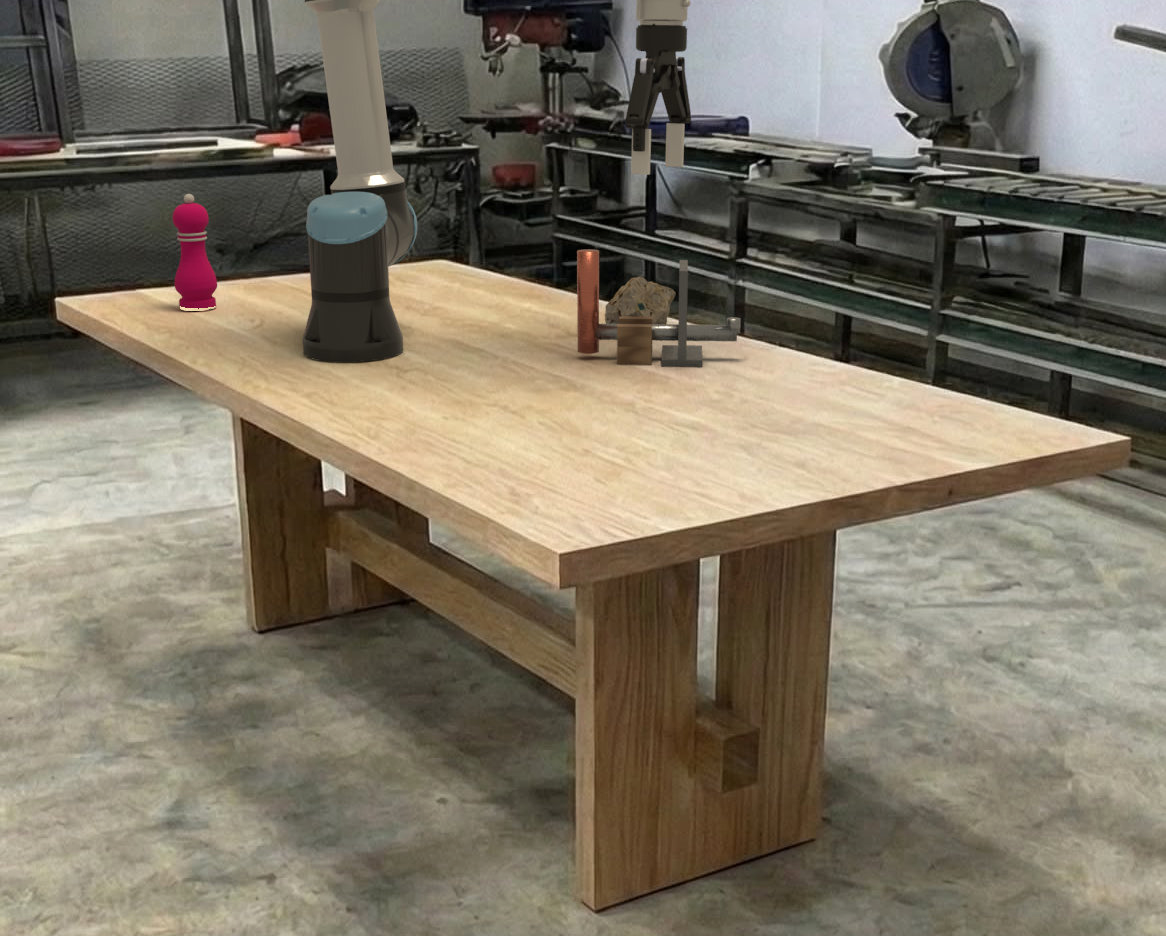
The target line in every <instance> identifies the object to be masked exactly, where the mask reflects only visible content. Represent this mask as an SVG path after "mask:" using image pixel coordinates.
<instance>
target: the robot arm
mask: <svg viewBox="0 0 1166 936" xmlns="http://www.w3.org/2000/svg"><path fill="white" fill-rule="evenodd" d="M380 1H381V0H304V4H305V6H306V7H307V8H309V10H311V11H312V12H313V13H314V14H315V15H316V19H317V24H318V33H319V40H320V48H321V49H320V50H321V55H322V62H323V69H324V77H325V84H326V93H327V99H328V107H329V115H330V122H331V129H332V136H333V143H334V152H335V158H336V167H337V172H338V175H337V176H336V178H335V180H333V182H332V184H330V187H329V189H330V194H323V195H322V196H319V197H316V198H315V199H313V200H312V201H311V202H310V203H309V204H308V206H307V209H306V212H307V213H306V216H307V219H306V222H305V223H306V224H305V225H306V226H305V229H306V232H307V241H308V242H307V244H308V246H307V247H308V259H309V277H310V291H311V292H310V293H311V306H310V308H309V313H308V316H307V320H306V324H305V329H304V331H303V336H302V354H303V355H304V356H305V357H306V356H307V358H309V357H310V358H309V359H312V358H313V360H316V359H317V361H322V360H323V362H337V363H352V362H353V363H355V362H370V361H377V360H384V359H387V358H392V357H395V356H398V355H399V354H401V353H402V352H403V351H404V337H403V333H402V330H401V328H400V326H399V322H398V320H397V317H396V314H395V311H394V308H393V306H392V304H391V303H392V302H391V300H390V299H391V297H390V277H389V267H391V266H393V265H395V264H396V265H397V264H398V263H399V262H400V261H402V260H403V258H405V256H406V255H407V254H408V253H409V251H410V250H411V249H412V247H413V245H414V243H415V242H416V238H417V234H418V219H417V216H416V213H415V210H414V208H413V206H412V205H411V203H410V202H409V201H408V199H407V198H408V197H407V191H406V183H405V182H406V181H405V178H404V177H402V176H401V174H399V173H398V172H396V170H395V169H394V165H393V154H392V149H391V148H392V147H391V146H392V145H391V140H390V139H391V137H390V132H389V131H390V130H389V124H388V123H389V122H388V117H387V116H388V115H387V108H386V100H385V92H384V83H383V74H382V66H381V60H380V51H379V43H378V42H379V41H378V36H377V28H376V27H377V26H376V19H375V8H376V7H377V6H378V4H379V3H380ZM691 3H692V2H691V0H636V9H635V10H636V14H635V15H636V16H635V20H636V21H637V22H638V21H639V24H638V25H637V27H635V28H636V29H635V49H636V50H637V51H639V52H645V58H644V57H643V58H641V57H637V58H636V59H635V63H634V64H635V65H634V67H635V69H634V76H633V81H632V87H631V91H630V96H629V101H628V105H627V111H626V116H625V120H624V121H625V124H624V125H625V128H626V129H631V165H630V167H631V169H630V171H631V172H630V174H632V175H645V176H646V175H648V176H649V175H651V154H652V153H651V147H652V128H649V127H650V124H651V119H652V116H653V113H654V110H655V107H656V104H657V101H658V97H659V95H660V94H661V97H662V100H663V104H664V106H665V107H664V108H665V111H666V113H667V118H668V121H669V122H667V123H666V128H665V129H666V130H665V132H666V135H665V162H664V163H665V164H664V165H665V167H672V168H673V167H675V168H683V167H684V158H685V157H684V155H685V154H684V152H685V150H684V149H685V124H691V121H692V117H691V115H692V114H691V106H690V105H691V104H690V99H689V92H688V85H687V84H688V83H687V78H686V62H685V61H686V60H685V57H684V56H677V55H676V54H677V53H678V52H679V53H682V52H685V51H686V50H687V47H688V46H687V45H688V27H687V26H686V25H684V22H687V20H688V8H689V7H690V6H691Z"/></svg>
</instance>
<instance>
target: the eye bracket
mask: <svg viewBox="0 0 1166 936" xmlns="http://www.w3.org/2000/svg"><path fill="white" fill-rule="evenodd" d="M688 260H689V259H680V260H679V268H678V269H679V273H678V274H679V277H678V278H679V282H678V285H679V286H678V325H679V327H678V342H677V345H676V344H673V345H672V344H662V346H661V347H662V348H661V364H660V365H661V367H667V368H668V367H671V368H673V367H674V368H675V367H676V368H677V367H679V368H682V367H683V368H687V367H688V368H691V367H692V368H703V367H704V366H703V364H704V363H703V361H704V360H703V359H704V358H703V345H691V344H689V345H688V344H687V343H688V341H687V325H688V292H689V291H688V290H689V289H688V288H689V287H688V286H689V285H688V284H689V282H688V281H689V262H688Z"/></svg>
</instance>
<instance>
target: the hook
mask: <svg viewBox="0 0 1166 936" xmlns="http://www.w3.org/2000/svg"><path fill="white" fill-rule="evenodd" d="M576 255H577V256H576V259H577V260H576V265H577V266H576V273H577V274H576V278H577V279H576V286H577V287H576V290H577V291H576V292H577V293H576V295H577V298H576V299H577V301H576V304H577V306H576V307H577V317H576V319H577V324H576V325H577V327H576V328H577V329H576V330H577V353H579V354H586V355H588V354H597V353H599V352H600V341H617V326H618V324H606V323H600V250H598V249H590V248H589V249H578V250H577V251H576ZM678 327H679V324H673V323H672V324H671V323H670V324H652V341H659V342H660V341H664V342H665V341H666V342H667V341H669V342H672V341H675V342H677V341H678ZM740 334H741V318H740V317H735V316H732V317H731V316H730V317H727V318H726V324H687V342H737V340H738V335H740Z"/></svg>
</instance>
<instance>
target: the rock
mask: <svg viewBox="0 0 1166 936" xmlns="http://www.w3.org/2000/svg"><path fill="white" fill-rule="evenodd" d="M620 286H621V285H620ZM675 297H676V292H675V291H674V289H673V288H670V287H668V286H665V285H661V284H658V283H657V282H653V281H647V280H646V278H644V277H643V276H636V277H631V278H630V279H629V280H628V281H627V282H626V284H625V285H622V286H621V287H620V288H619V289H618V291H616V293H615V294H614V296H613V297H612V298H611V300H610V301H608V302H607V304H605V314H604V322H605V324H619V316H632V317H653V324H667V323H668V317H669V315H670V311H671V309H670V307H671V304H672V302H673V300H674V299H675Z"/></svg>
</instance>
